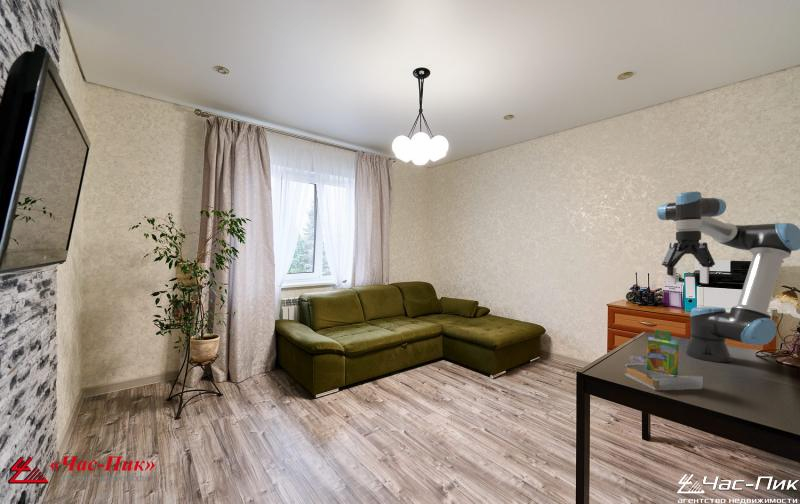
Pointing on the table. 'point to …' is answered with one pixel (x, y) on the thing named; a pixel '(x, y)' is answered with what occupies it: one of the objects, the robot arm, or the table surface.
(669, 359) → the chalk box
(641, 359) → the rock
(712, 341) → the robot arm
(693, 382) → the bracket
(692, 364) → the table surface
